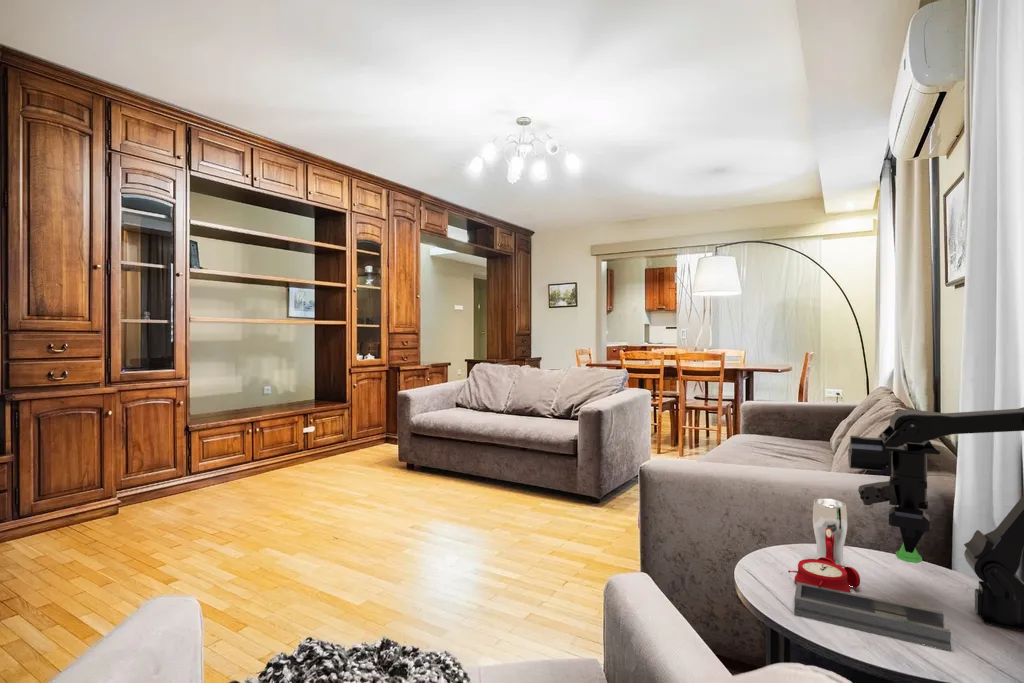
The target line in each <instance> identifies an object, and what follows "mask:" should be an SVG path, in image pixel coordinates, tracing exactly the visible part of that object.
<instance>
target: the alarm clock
mask: <svg viewBox="0 0 1024 683" xmlns="http://www.w3.org/2000/svg"><path fill="white" fill-rule="evenodd" d="M842 567H845V568H842ZM787 572H788V573H796V574H795V576H794V582H795V583H797V582H800V583H805V584H810V585H815V586H819V587H824V588H829V589H834V590H839V591H844V592H849V593H851V592H852V591H851V589H857V588H858V587H859V586H860V585H861V577H860V574H859V572H858V571H857V570H856V569H855V568H853V567H851V566H846V565H845V566H842V565H837V564H835V563H834V562H833V561H832V560H831V559H829V558H826V557H821V558H818V559H816V558H806V559H805V558H804V559H802V560H799V562H798V563H797V570H790V569H789V570H788V571H787ZM849 585H850V586H853V588H850V586H849Z"/></svg>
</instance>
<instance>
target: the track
mask: <svg viewBox="0 0 1024 683" xmlns="http://www.w3.org/2000/svg"><path fill="white" fill-rule="evenodd" d="M795 583H796V582H795ZM794 616H798V617H803V618H805V619H811V620H814V621H815V620H816V621H818V622H819V621H820V622H824V623H828V624H832V625H836V626H842V627H845V628H849V629H854V630H858V631H863V632H868V633H871V634H875V635H879V636H884V637H889V638H891V639H897V640H900V641H906V642H910V643H913V642H914V643H913V644H918V643H919V645H922V644H925V645H924V646H926V645H928V646H927V647H930V646H932V647H931V648H935V647H936V649H939V648H940V650H943V649H944V650H943V651H948V652H952V644H951V641H952V637H951V635H952V634H951V633H952V632H951V630H950V629H949V628H945V626H944V623H945V622H944V618H945V617H944V616H945V615H944V611H941V610H937V609H931V608H926V607H921V606H918V605H911V604H905V603H902V602H897V601H891V600H888V599H887V600H886V599H882V598H878V597H874V596H873V597H872V596H868V595H862V594H859V593H853V592H850V593H849V592H844V591H839V590H834V589H829V588H824V587H819V586H815V585H810V584H805V583H800V582H797V583H796V584H795V593H794Z"/></svg>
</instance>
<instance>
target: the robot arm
mask: <svg viewBox="0 0 1024 683" xmlns="http://www.w3.org/2000/svg"><path fill="white" fill-rule="evenodd" d="M1006 432H1024V407H1020V408H1010V409H1009V408H1008V409H992V410H990V409H989V410H977V411H963V412H962V411H961V412H960V411H959V412H947V413H946V412H935V411H926V410H919V409H918V410H916V409H900V410H897V411H895V412H894V413H893V414H892V415H891V417H890V419H889V425H888V426H887V427H886V428H885V429H884V430H883V431H882V432H881V433H880V434H879V435H878V437H867V436H866V437H865V436H860V435H850V436H849V447H848V449H847V458H848V459H847V460H848V467H849V469H851V470H852V469H853V470H864V471H874V472H875V471H876V472H883V470H884V469H887V468H888V467H889V464H890V452H891V474H890V475H889V479H888V480H886V481H878V482H872V483H866V484H865V483H864V484H861V485H859V486H858V490H857V491H858V494H859V496H860V497H859V498H860V500H861V501H862V503H863V505H864V506H871V505H873V504H880V503H881V504H882V503H885V502H889V504H888V505H890V506H892V507H891V509H889V511H888V525H889V526H892V527H897V528H899V530H900V533H901V534H900V535H901V538H902V542H903V543H904V547H905V551H906V552H909V553H913V551H914V549H915V548H916V549H917V545H918V544H919V542H920V540H921V539H922V537H923V536H924V534H925V533H926V532H931V530H930V528H931V527H930V525H931V524H930V516H929V514H928V512H927V511H924V510H928V509H929V496H928V455H936V456H937V455H941V451H940V450H939V449H938V448H936V447H935V446H934V445H933V444H932V442H931V441H933V440H937V439H939V438H942V437H946V436H951V435H964V434H965V435H966V434H984V433H1006ZM903 543H902V544H903ZM963 546H964V547H965V548H966V549H965V550H964V558H965V561H966V563H967V564H968V566H969V567H970V568H971V569H972V571H973V572H974V574H975V575H976V576H977V577H978V578H979V579H980V580H979V581H978V588H975V589H974V610H975V612H976V614H977V615H978V616H979V617H980V619H981V621H982V623H984V624H986V625H989V626H990V625H991V626H996V627H1000V628H1005V629H1010V630H1013V631H1019V632H1024V581H1023V580H1022V579H1021V578H1020V577H1019V576H1018V575H1017V572H1018V570H1019V568H1020V567H1021V562H1022V557H1023V554H1024V494H1023V495H1022V496H1021V497H1020V498H1019V499H1018V501H1017V502H1016V504H1015V505H1014V506H1013V507H1012V508H1011V509H1010V511H1009V512H1008V513H1007V515H1006V516H1005V517H1004V518H1003V519H1002V521H1001V522H1000V523H999V525H998V526H997V527H996V528H995V529H994V530H992V531H990V532H988V533H985V534H984V533H983V532H982V531H981V530H979V529H978V530H975V531H974V534H973V535H972V537H971V539H970V540H969V541H968V542H966V543H964V544H963Z"/></svg>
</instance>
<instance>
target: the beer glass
mask: <svg viewBox="0 0 1024 683" xmlns="http://www.w3.org/2000/svg"><path fill="white" fill-rule="evenodd" d="M847 512H848V510H847V504H846V503H845V502H843V501H841V500H838V499H834V498H828V497H820V498H815V499H814V500H813V509H812V526H813V531H814V538H815V542H816V555H815V559H818V558H821V557H826V558H829V559H831V560H832V561H833V562H834V563H835V564H837V565H842V566H845V567H846V564H845V558H844V548H845V544H846V537H847V533H848V532H847V531H848V513H847ZM845 567H842V568H845Z"/></svg>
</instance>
